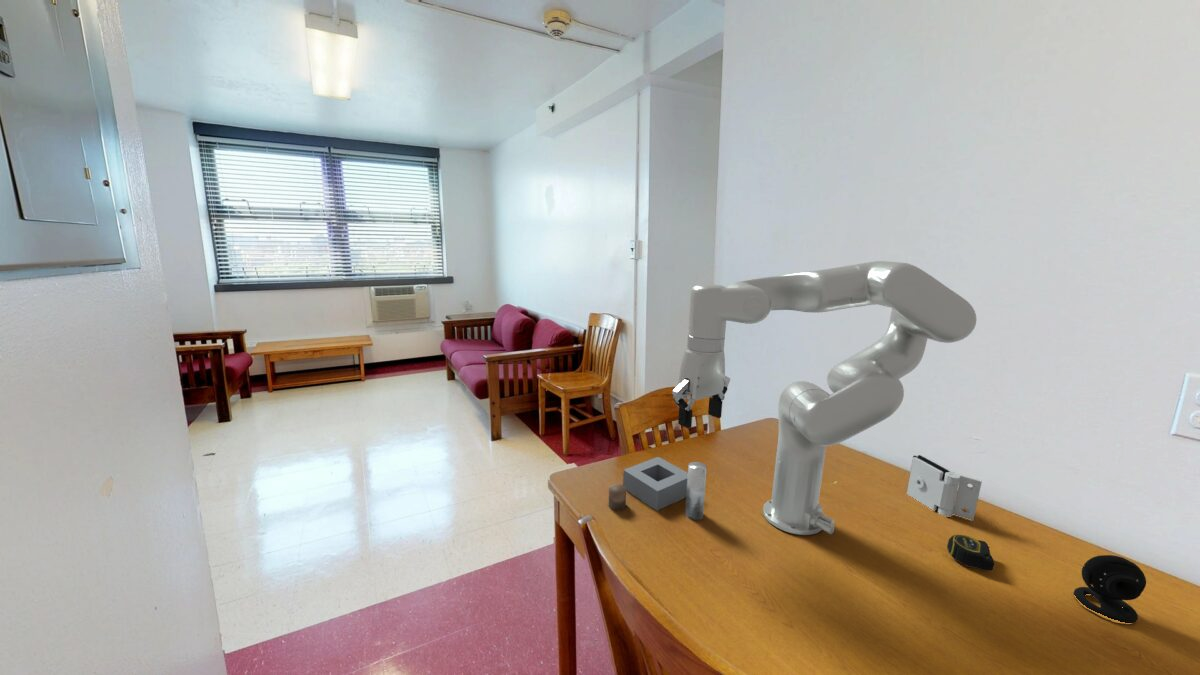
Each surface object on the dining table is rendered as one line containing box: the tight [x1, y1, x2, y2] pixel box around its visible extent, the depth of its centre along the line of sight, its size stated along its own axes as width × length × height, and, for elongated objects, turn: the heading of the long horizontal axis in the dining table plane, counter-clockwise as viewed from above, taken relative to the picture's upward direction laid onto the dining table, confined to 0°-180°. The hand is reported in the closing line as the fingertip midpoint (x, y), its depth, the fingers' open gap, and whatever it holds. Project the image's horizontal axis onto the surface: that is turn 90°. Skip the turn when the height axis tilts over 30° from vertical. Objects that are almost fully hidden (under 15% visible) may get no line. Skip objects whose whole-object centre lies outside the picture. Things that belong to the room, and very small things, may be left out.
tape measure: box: [946, 534, 995, 572], centre depth 89 cm, size 7×7×4 cm
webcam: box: [1073, 554, 1147, 624], centre depth 77 cm, size 8×8×10 cm
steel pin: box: [684, 461, 708, 521], centre depth 101 cm, size 4×4×12 cm
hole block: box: [622, 456, 688, 511], centre depth 111 cm, size 12×12×5 cm
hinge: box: [906, 454, 983, 521], centre depth 106 cm, size 14×5×10 cm, turn 23°
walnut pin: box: [608, 483, 627, 512], centre depth 105 cm, size 4×4×4 cm
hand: (699, 421), depth 98 cm, fingers open, 9 cm apart
